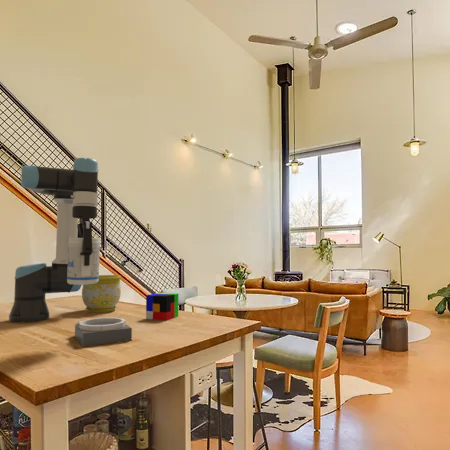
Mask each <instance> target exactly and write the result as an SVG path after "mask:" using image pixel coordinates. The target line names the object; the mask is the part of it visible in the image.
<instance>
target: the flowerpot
mask: <svg viewBox="0 0 450 450" xmlns="http://www.w3.org/2000/svg"><path fill="white" fill-rule="evenodd" d="M121 279H122V276H121V275H118V274H117V275H116V274H99V281H98V282H97V283H96V284H88V285H82V289H81V297H82V298H81V299H82V302H83V304H84V305H85V306H86V307H85V309H84V310H86V311H87V312H88V313H95V314H98V313H101V314H102V313H111V312H113V311H114V312H115V309H117V305H118V303H119V301H120V299H121V296H122V295H121V291H122V290H121V289H122V288H121Z"/></svg>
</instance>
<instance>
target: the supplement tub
mask: <svg viewBox="0 0 450 450" xmlns="http://www.w3.org/2000/svg"><path fill="white" fill-rule="evenodd" d="M82 241H83V238H69V242H68V243H69V244H68V267H67V282H68V283H69V284H74V285H82V286H83V285H88V284H96V283H97V282H98V281H99V275H100V252H101V251H100V250H101V249H100V248H101V246H100V245H101V243H100V238H99V237H98V238H97V237H92V250H93V252H92V254H91V276H86V277H81V259H82V255H80V252H82Z"/></svg>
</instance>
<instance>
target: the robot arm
mask: <svg viewBox="0 0 450 450" xmlns="http://www.w3.org/2000/svg"><path fill="white" fill-rule="evenodd" d="M98 168H99V164H98V160H96V159H94V158H89V157H76V158H75V159H74V160H73V166H72V169H70V168H58V167H48V166H40V165H38V166H36V165H26V164H25V165H23V166H22V167H21V177H20V179H21V180H20V185H21V186H20V187H22V188H23V189H28V190H29V191H31V192H34V193H37V194H40V195H45V196H46V195H47V196H48V195H49V196H53V201H55V202H56V204H57V208H56V209H57V211H56V214H57V215H56V239H55V240H56V243H55V245H56V247H55V259H53V260H52V261H51V266H50V265H48V266H47V263H46V262H44V263H43V262H42V263H41V262H40V263H33V264H32V263H31V264H26V265H21V266H19V267H17V268H16V269H15V275H14V299H13V300H14V301H13V304H12V307H11V310H10V313H9V314H8V322H10V323H13V324H21V323H22V324H23V323H36V322H37V323H38V322H41V321H45V320H46V321H47V320H49V319H50V311H49V310H50V309H49V307H48V305H47V302H46V294H57V293H58V294H60V293H74V292H78V291H79V290H81V287H83V285H74V284H69V283H68V282H67V267H68V244H69V243H68V242H69V238H83V241H82V252H80V255H82V259H81V277H86V276H91V254H92V252H93V250H92V238H93V221H91V220H93V219H94V220H95V219H97V217H98V208H97V206H98V183H99V182H98V181H99V180H98V179H99V169H98Z"/></svg>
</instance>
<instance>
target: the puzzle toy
mask: <svg viewBox="0 0 450 450" xmlns="http://www.w3.org/2000/svg"><path fill="white" fill-rule="evenodd" d="M145 296H146V297H145V298H146V299H145V300H146V301H145V319H146V320H154V321H155V320H157V321H170V320H172V319H175V318H177V317H179V293H174V292H173V293H171V292H155V293H151V294H147V295H145Z"/></svg>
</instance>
